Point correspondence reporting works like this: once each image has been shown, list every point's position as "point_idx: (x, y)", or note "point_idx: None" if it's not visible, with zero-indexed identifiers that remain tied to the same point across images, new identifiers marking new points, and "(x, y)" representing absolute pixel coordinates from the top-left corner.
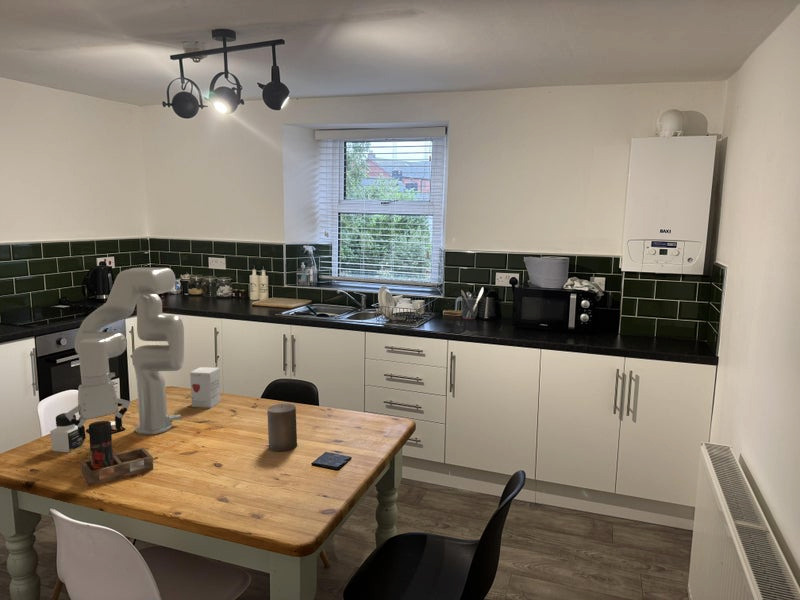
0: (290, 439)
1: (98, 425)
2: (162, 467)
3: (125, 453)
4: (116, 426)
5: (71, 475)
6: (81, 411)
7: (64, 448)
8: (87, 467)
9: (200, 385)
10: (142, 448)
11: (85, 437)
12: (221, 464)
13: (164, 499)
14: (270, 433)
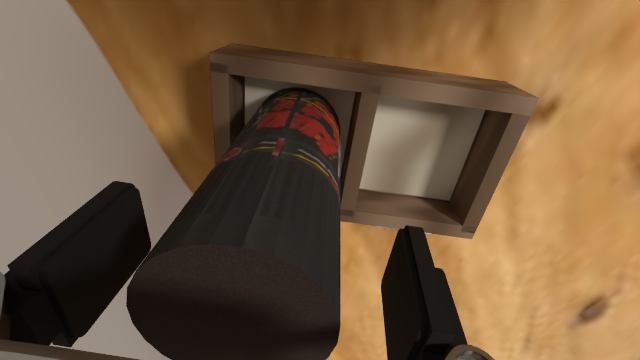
0: None
1: (214, 343)
2: (484, 214)
3: (429, 101)
4: (394, 274)
5: (192, 13)
6: None
7: None
8: (225, 147)
9: None
10: (523, 113)
11: (144, 257)
12: (599, 315)
13: (359, 356)
14: None
